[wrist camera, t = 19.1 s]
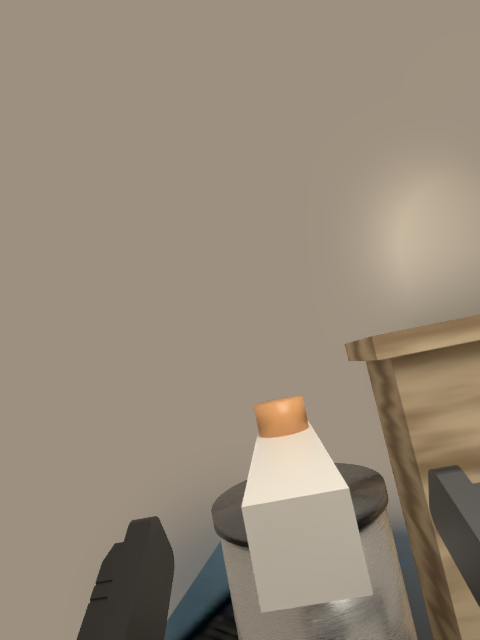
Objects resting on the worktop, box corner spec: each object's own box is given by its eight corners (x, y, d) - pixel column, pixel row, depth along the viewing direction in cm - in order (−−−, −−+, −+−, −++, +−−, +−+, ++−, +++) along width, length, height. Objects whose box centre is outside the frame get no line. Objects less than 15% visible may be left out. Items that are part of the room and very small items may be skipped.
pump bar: (373, 595, 14) (335, 427, 15) (261, 612, 15) (230, 447, 15) (315, 461, 34) (300, 391, 35) (268, 469, 34) (254, 400, 35)
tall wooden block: (656, 752, 26) (520, 306, 30) (480, 774, 27) (371, 336, 31) (536, 629, 38) (450, 322, 42) (417, 647, 39) (344, 343, 43)
